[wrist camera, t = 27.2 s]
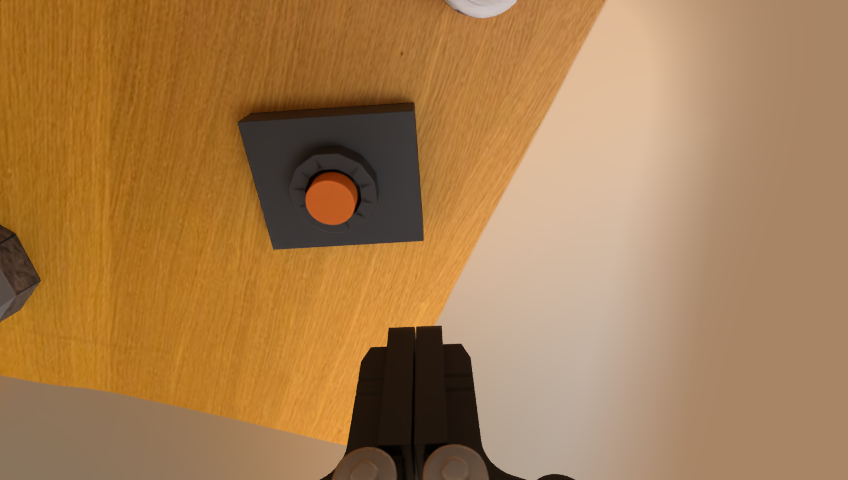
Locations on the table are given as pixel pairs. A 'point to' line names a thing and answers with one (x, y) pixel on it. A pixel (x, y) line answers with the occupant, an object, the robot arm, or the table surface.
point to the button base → (343, 153)
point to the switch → (331, 198)
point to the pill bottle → (481, 7)
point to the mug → (14, 274)
